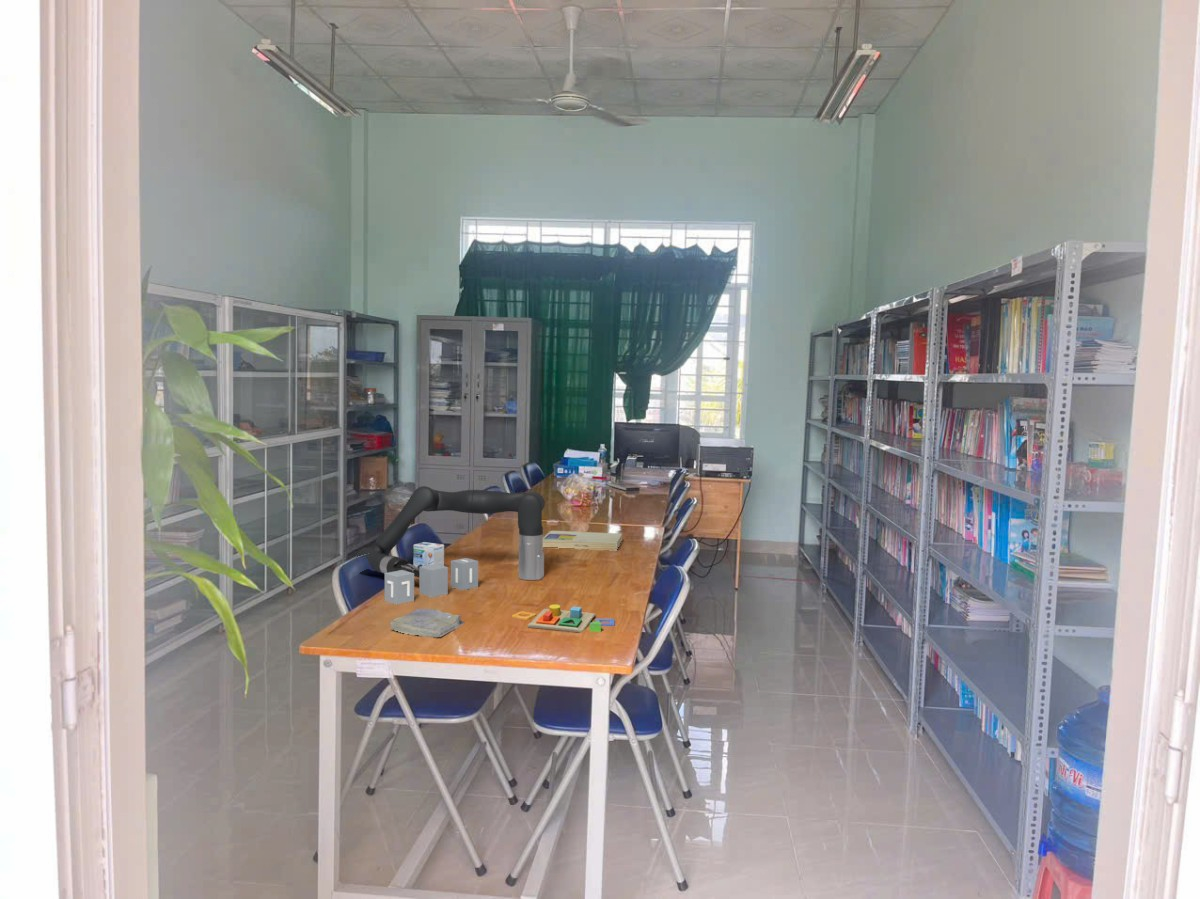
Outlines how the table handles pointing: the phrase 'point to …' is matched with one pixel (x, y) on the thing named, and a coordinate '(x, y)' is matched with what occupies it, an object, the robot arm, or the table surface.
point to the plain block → (433, 580)
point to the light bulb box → (428, 554)
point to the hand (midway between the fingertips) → (422, 574)
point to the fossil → (426, 623)
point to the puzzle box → (583, 540)
